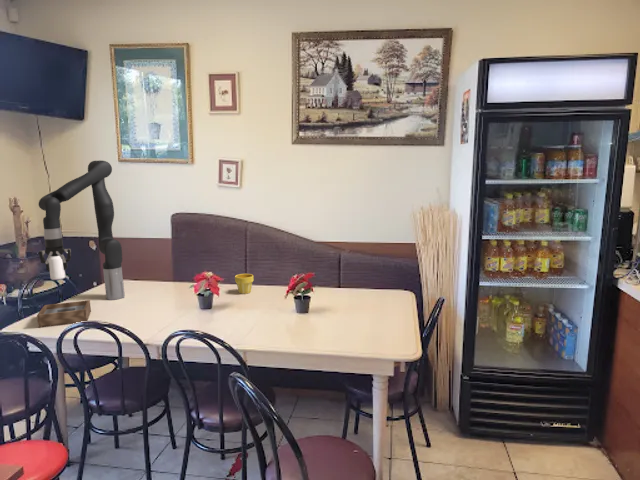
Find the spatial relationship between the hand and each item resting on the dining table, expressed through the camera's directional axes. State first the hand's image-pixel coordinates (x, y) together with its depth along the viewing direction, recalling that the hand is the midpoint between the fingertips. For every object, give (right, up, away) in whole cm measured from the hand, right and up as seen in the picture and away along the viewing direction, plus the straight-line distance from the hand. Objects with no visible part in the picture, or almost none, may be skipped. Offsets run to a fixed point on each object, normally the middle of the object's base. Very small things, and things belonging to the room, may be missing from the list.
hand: (57, 270), depth 224 cm
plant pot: (+88, -15, +33) cm, 95 cm away
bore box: (+8, -23, -7) cm, 26 cm away
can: (0, -4, +1) cm, 4 cm away
